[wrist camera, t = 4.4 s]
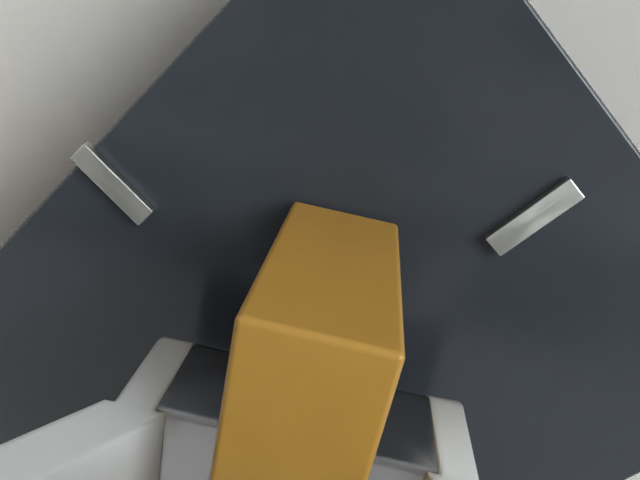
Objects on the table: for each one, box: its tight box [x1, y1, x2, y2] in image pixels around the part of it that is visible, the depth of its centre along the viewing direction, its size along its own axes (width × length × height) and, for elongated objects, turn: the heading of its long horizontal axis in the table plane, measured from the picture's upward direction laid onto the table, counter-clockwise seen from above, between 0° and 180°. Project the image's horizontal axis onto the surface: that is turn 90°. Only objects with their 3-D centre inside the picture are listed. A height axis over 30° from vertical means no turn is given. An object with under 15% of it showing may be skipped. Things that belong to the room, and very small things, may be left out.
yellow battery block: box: [209, 202, 405, 480], centre depth 8 cm, size 6×2×4 cm, turn 169°
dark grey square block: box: [0, 0, 640, 480], centre depth 11 cm, size 12×10×3 cm
